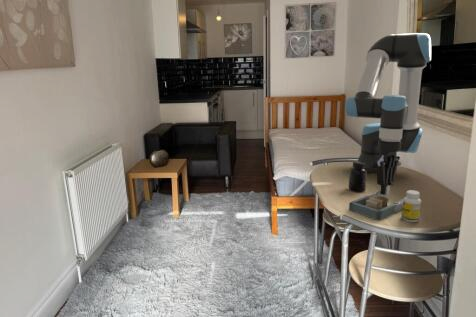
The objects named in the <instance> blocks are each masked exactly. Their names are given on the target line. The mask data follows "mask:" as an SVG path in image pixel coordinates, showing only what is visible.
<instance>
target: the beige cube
mask: <svg viewBox="0 0 476 317" xmlns="http://www.w3.org/2000/svg"><path fill="white" fill-rule="evenodd" d="M365 206H367V207H370V208H373V209H376V210H380V209H382V201H381V200H378V199H374V198H371V199H368V200H366V205H365Z"/></svg>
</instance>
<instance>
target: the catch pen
mask: <svg viewBox="0 0 476 317" xmlns="http://www.w3.org/2000/svg"><path fill="white" fill-rule="evenodd" d="M367 198H369V195H365V196H363V197H362V196H361V197H359V198H356V199H355V200H352V201H350V202H349V206H348V210H349V212H354V213H356V214H359V215H362V216H365V217H368V218H372V219H374V220H377V221H382V220H383V219H386V218H387V217H389V216H391V215H393V208H394V207H395V206H397V204H393V203H391V204H389V205H387V207H385V208H383V209H380V210H376V209H373V208H370V207H367V206H366V199H367Z"/></svg>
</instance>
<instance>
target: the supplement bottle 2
mask: <svg viewBox="0 0 476 317" xmlns="http://www.w3.org/2000/svg"><path fill="white" fill-rule="evenodd" d="M405 195H406V196H405V197H403V199H404V200H403V208H402V210H401V219H402V220H404V221H405V222H409V223H417V222H419V220H420V217H421V216H420V215H421V206H422V199H421V198H420V196H421V194H420V192H419V191H418V190H414V189H413V190H411V189H409V190H407V191H406V194H405Z"/></svg>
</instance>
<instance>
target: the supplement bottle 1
mask: <svg viewBox="0 0 476 317" xmlns="http://www.w3.org/2000/svg"><path fill="white" fill-rule="evenodd" d="M364 167H365V162H362V161H358V160H354V161H353V162H352V167H350V169H349V174H348V175H349V176H348V189H349V191H352V192H356V193H361V192H362V193H363V192H365V191H366V186H367V185H366V184H367V176H368V175H367V174H368V172H367V170H366V169H365V168H364Z"/></svg>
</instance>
